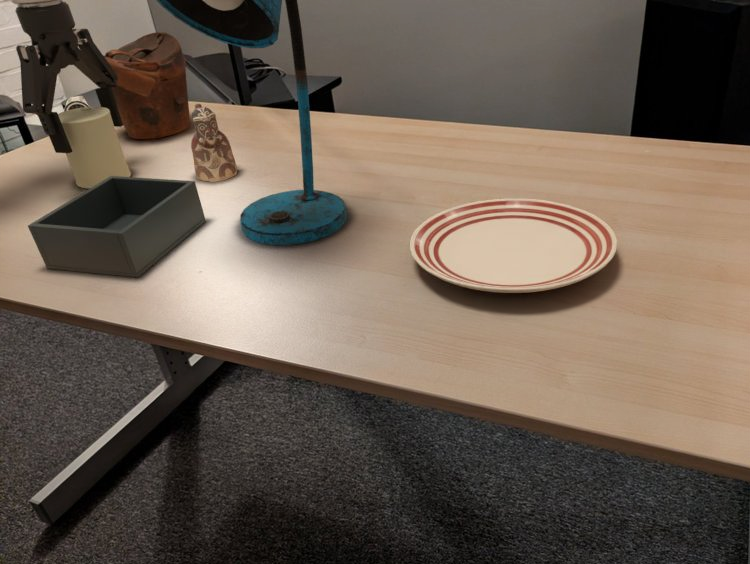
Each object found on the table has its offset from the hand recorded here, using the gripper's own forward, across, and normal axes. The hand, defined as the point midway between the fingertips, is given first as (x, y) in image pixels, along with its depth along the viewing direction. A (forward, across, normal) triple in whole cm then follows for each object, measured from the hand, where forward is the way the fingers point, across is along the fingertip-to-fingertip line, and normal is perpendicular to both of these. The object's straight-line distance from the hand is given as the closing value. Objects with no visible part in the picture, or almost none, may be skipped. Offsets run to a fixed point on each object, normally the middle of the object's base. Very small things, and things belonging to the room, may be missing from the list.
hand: (91, 138), depth 114 cm
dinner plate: (+9, -17, -77) cm, 79 cm away
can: (+8, 0, 0) cm, 8 cm away
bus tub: (+8, -22, -21) cm, 31 cm away
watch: (+7, +11, +10) cm, 17 cm away
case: (+8, +26, +6) cm, 28 cm away
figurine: (+8, +5, -20) cm, 22 cm away
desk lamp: (+8, -13, -42) cm, 44 cm away
